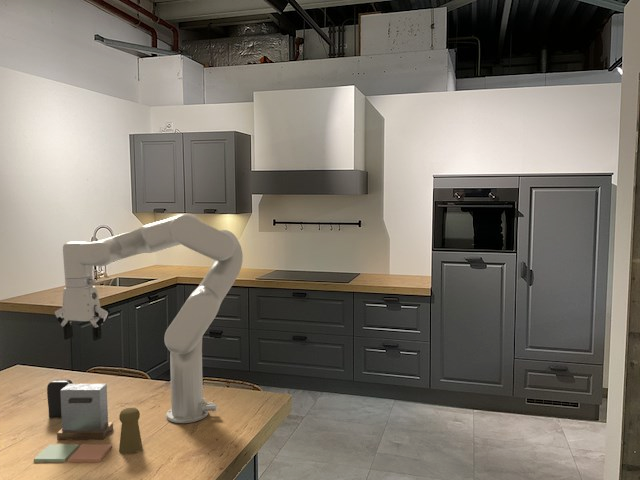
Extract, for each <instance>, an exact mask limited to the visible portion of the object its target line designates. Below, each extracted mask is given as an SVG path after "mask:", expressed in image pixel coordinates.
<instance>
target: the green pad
mask: <svg viewBox="0 0 640 480" xmlns="http://www.w3.org/2000/svg"><path fill="white" fill-rule="evenodd" d="M79 447H80V445H79V444H48V445H47V446H46V447H45V448H44V449H43V450H42V451H40V452H39V454H37V455H36V456H35V457H33V463H57V462H58V463H66V462H67V460H69V458H70V457H71V456H72V455H73V454H74V453H75V452H76V451H77V450H78V448H79Z"/></svg>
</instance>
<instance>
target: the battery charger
mask: <svg viewBox="0 0 640 480" xmlns="http://www.w3.org/2000/svg"><path fill="white" fill-rule="evenodd" d="M68 384H74V383H73V381H72V380H70V379H64V378H63V379H60V378H59V379H53V380H52V381H50V382H49V383H48V384H47V386H46V395H47V407H48V418H50V419H62V416H61V394H60V390H61V389H62V388H64V387H65V386H66V385H68Z"/></svg>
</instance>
